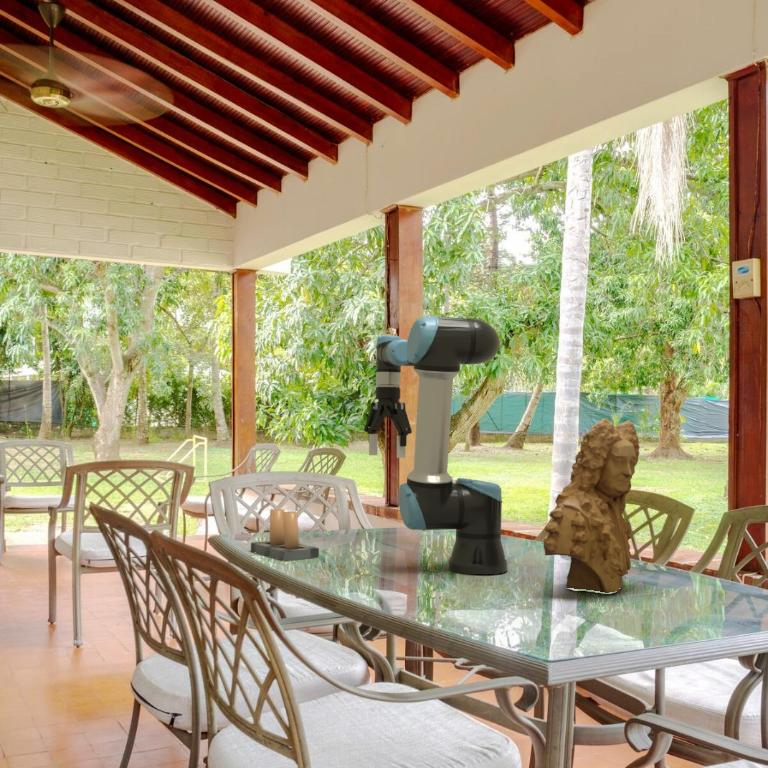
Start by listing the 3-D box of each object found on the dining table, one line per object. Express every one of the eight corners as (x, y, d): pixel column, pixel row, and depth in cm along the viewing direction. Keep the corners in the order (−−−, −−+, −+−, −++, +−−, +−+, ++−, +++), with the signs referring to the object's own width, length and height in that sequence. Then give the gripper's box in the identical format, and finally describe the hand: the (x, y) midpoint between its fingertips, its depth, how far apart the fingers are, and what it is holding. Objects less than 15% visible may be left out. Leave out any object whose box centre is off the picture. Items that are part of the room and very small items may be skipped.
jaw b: (286, 552, 243) (287, 510, 244) (273, 554, 241) (274, 511, 241) (278, 550, 247) (279, 508, 247) (266, 552, 244) (267, 509, 244)
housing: (318, 557, 237) (318, 548, 237) (284, 561, 230) (284, 551, 230) (284, 548, 251) (284, 539, 251) (250, 551, 244) (251, 542, 244)
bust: (610, 607, 183) (613, 418, 184) (532, 596, 192) (535, 416, 193) (652, 581, 212) (653, 418, 213) (582, 573, 221) (584, 417, 223)
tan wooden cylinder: (302, 555, 237) (300, 512, 237) (290, 558, 235) (288, 514, 234) (293, 553, 240) (291, 510, 240) (281, 556, 237) (279, 513, 237)
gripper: (424, 386, 255) (423, 458, 255) (373, 387, 275) (371, 454, 274) (404, 385, 251) (403, 458, 250) (354, 386, 270) (352, 454, 270)
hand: (386, 456), depth 262 cm, fingers open, 13 cm apart
